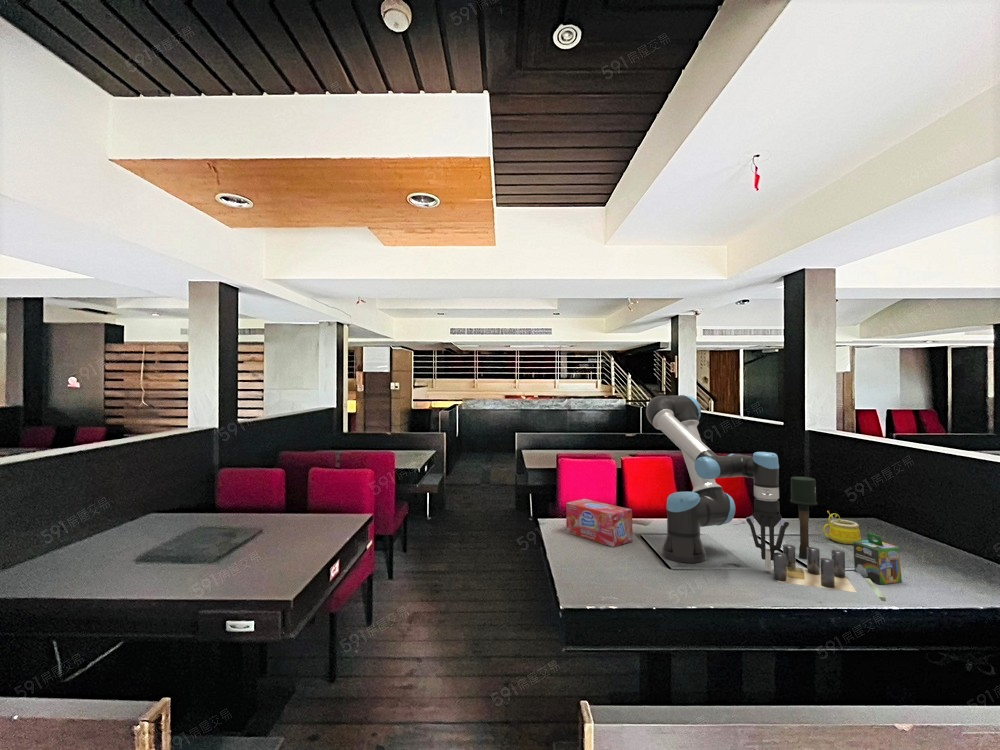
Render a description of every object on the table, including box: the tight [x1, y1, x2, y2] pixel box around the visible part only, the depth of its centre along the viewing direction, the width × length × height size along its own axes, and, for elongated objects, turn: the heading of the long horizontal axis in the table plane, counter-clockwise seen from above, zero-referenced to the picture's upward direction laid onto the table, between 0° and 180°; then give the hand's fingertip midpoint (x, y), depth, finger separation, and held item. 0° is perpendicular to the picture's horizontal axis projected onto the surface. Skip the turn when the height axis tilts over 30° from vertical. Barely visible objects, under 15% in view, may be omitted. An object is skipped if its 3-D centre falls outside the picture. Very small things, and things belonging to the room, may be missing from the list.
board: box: [771, 564, 887, 602], centre depth 158 cm, size 28×16×1 cm, turn 66°
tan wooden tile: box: [787, 567, 805, 579], centre depth 161 cm, size 4×4×2 cm
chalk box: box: [852, 532, 903, 586], centre depth 162 cm, size 9×9×15 cm
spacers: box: [772, 544, 846, 589], centre depth 159 cm, size 22×15×8 cm
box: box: [565, 498, 634, 548], centre depth 209 cm, size 27×13×14 cm, turn 37°
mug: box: [822, 510, 862, 545], centre depth 203 cm, size 13×11×12 cm
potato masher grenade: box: [789, 476, 818, 560], centre depth 180 cm, size 8×9×30 cm
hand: (768, 569), depth 164 cm, fingers closed
